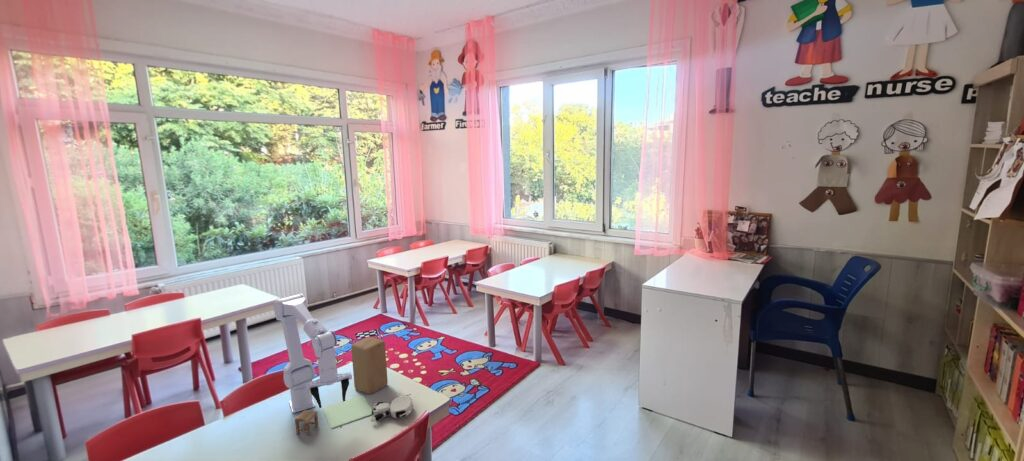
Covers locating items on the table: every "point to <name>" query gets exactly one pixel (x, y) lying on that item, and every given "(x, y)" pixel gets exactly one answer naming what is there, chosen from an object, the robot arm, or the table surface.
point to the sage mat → (347, 411)
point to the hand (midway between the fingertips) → (332, 403)
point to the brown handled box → (306, 421)
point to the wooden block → (369, 365)
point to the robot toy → (393, 408)
